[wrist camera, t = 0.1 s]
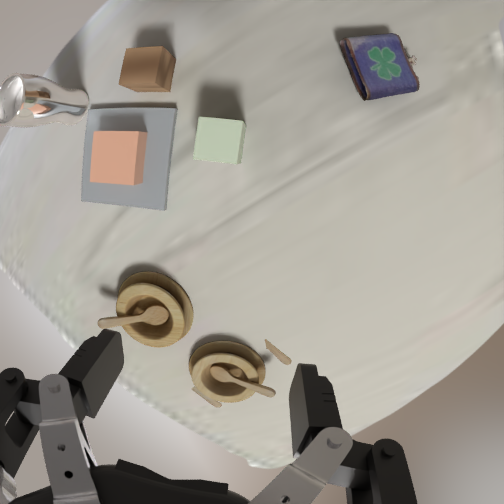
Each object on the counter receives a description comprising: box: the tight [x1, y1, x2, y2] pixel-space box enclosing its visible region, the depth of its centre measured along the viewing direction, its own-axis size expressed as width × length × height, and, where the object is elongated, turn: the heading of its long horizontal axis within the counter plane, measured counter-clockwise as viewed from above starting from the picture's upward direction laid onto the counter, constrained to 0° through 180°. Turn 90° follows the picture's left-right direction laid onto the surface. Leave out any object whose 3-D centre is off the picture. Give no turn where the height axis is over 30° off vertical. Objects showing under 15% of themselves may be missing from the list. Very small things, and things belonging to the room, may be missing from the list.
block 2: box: [193, 117, 246, 164], centre depth 34 cm, size 5×5×6 cm
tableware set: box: [98, 271, 291, 407], centre depth 45 cm, size 30×20×6 cm, turn 44°
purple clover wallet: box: [340, 33, 419, 101], centre depth 30 cm, size 9×3×11 cm
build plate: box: [81, 108, 178, 211], centre depth 35 cm, size 14×14×4 cm
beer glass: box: [0, 73, 89, 128], centre depth 28 cm, size 7×7×15 cm
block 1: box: [119, 46, 176, 92], centre depth 31 cm, size 5×5×6 cm
